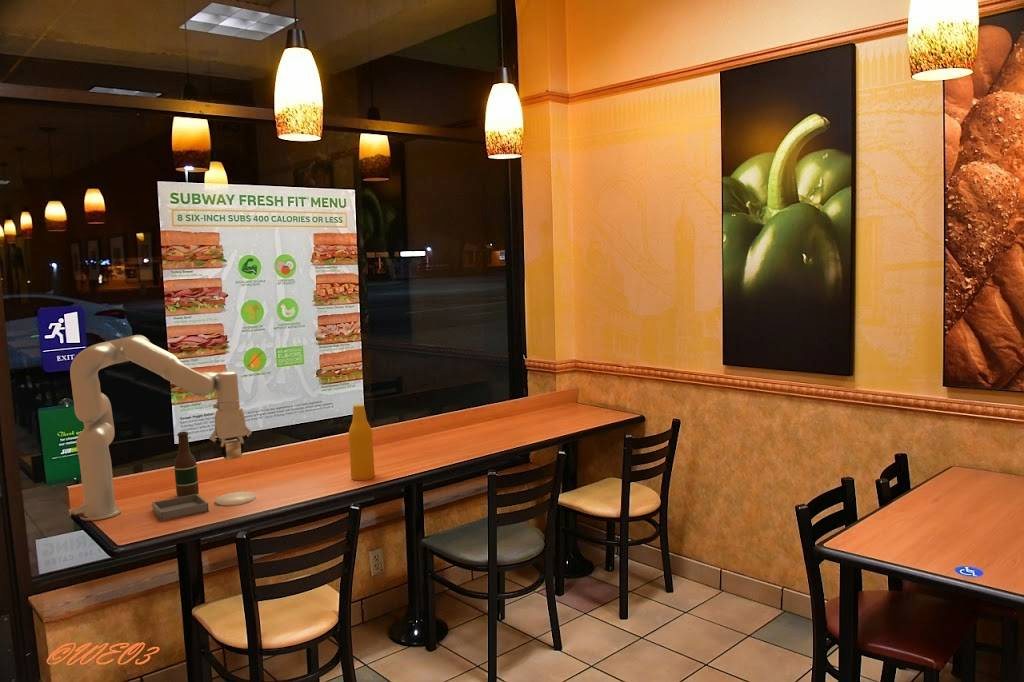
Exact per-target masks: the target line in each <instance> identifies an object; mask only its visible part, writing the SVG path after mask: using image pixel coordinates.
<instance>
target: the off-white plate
mask: <svg viewBox="0 0 1024 682" xmlns="http://www.w3.org/2000/svg"><path fill="white" fill-rule="evenodd" d="M256 495H257V494H256V493H255V492H252V491H236V492H235V491H234V492H229V493H225V494H222V495H220V496H217V497H216V498H215V499H214V503H215V505H217V506H221V507H229V506H231V507H232V506H240V505H244V504H248V503H250V502H253V501H255V499H256V498H257V496H256Z"/></svg>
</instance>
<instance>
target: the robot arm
mask: <svg viewBox="0 0 1024 682" xmlns="http://www.w3.org/2000/svg"><path fill="white" fill-rule="evenodd" d="M130 361H131V362H132V363H135V364H136V365H138V366H140V367H143V368H144V369H147V370H148V371H150V372H152V373H155V374H157V375H158V376H160V377H162V378H163V379H164V380H165V381H166V380H167V382H170V383H171V384H173V385H175V386H176V387H178V388H180V389H183V390H184V391H186V392H188V393H190V394H192V395H194V396H197V397H206V396H208V395H210V394H211V393H212V392H215V393H216V403H215V404H213V405H212V407H213V409H217V410H215V415H214V416H215V417H214V430H213V432H212V433H211V435H210V436H209V440H210V441H212V442H214V443H215V444H217V445H218V446H219V450H220V456H222V457H223V458H224V459H225V457H226V447H225V445H224V444H225V441H226V439H231V438H236V439H237V440H239V441H240V443H241V456H242V455H243V452H244V443H245V442H246V440H247V439H248V437H250V436H251V434H252V433H253V432H252V431H251V430H250V429H249V428H248V427H247V425H246V418H245V414H244V410H243V408H241V407H240V396H239V395H240V394H239V383H238V382H239V381H238V374H237V372H235V371H232V370H229V371H228V370H227V371H220V372H212V371H211V372H209V371H207V372H204V371H203V372H198V371H197V370H194V369H192V368H190V367H188V366H187V365H185V364H183V362H181V360H179V359H178V357H177V356H175V354H173V353H171V352H169V351H167V350H165V349H163V348H161V347H160V346H157V345H155V344H153V343H152V342H151V341H150V339H149V338H147V337H146V336H144V335H142V334H135V335H134V334H133V335H130V336H127V337H122V338H121V337H120V338H118V339H117V338H116V339H113V340H112V339H111V340H108V341H104V342H99V343H96V344H92V345H90V346H88V347H86V348H84V349H83V350H81V351H80V352H78V354H76V355H75V356H74V358H73V359H72V362H71V364H70V370H69V373H70V374H69V375H70V383H71V390H72V398H73V406H74V408H73V409H74V415H75V416H76V418H77V420H79V421H80V422H82V423H83V427H84V428H83V429H82V430H81V431H80V432H79V434H78V436H77V438H76V451H77V454H78V459H79V461H78V462H79V468H80V475H81V485H82V487H81V488H82V497H83V498H82V499H83V503H81V505H80V506H79V507H74V508H70V509H68V512H69V514H68V515H69V516H71V515H74V516H76V515H80V514H81V513H82V514H84V516H85V517H86V516H87V517H88V518H82V517H80V516H79V518H80V520H82V521H89V522H91V521H99V520H104V519H105V520H106V519H109V518H112V517H116V516H118V515H119V514H120V513H121V511H122V510H121V507H118V506H116V499H115V498H116V497H115V488H114V478H113V477H114V476H113V466H112V458H111V453H110V448H109V446H110V444H111V443H112V442H113V441H114V438H115V433H116V432H115V424H114V418H113V410H112V404H111V401H110V399H109V397H108V396H107V395H106V394H104V393H103V392H101V391H102V390H101V382H100V379H99V371H100V370H102V369H105V368H107V367H109V366H112V365H115V364H121V363H126V362H130ZM217 438H218V439H217Z"/></svg>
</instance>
